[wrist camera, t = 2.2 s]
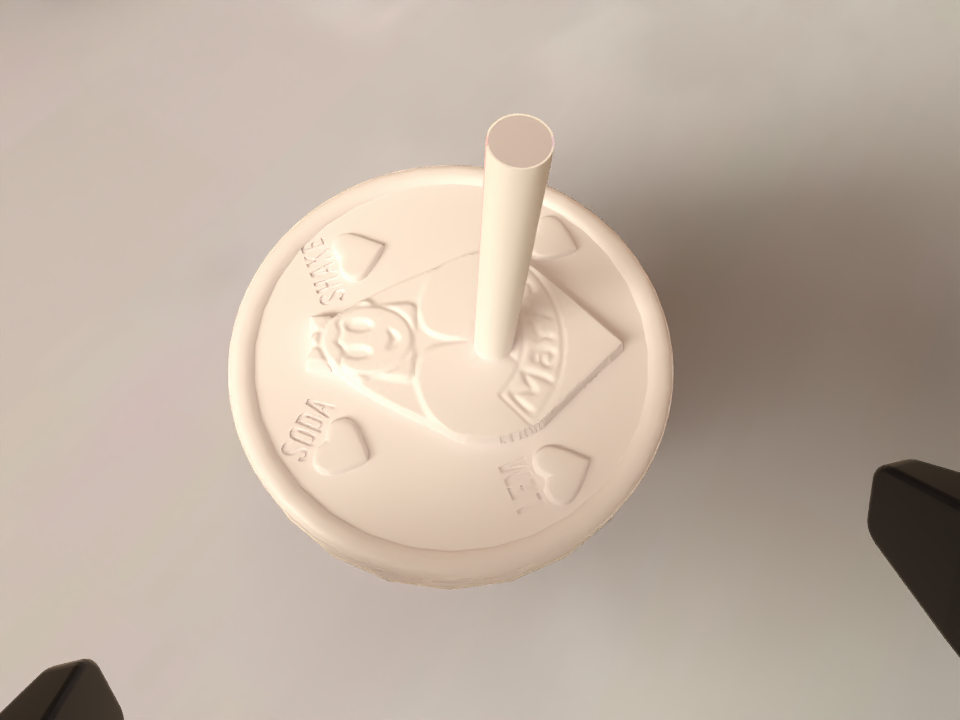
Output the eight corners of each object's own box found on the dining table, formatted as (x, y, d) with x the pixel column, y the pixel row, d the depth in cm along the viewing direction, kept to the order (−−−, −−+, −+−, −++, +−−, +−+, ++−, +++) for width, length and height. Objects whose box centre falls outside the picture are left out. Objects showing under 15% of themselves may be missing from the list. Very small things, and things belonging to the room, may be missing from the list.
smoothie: (576, 603, 17) (942, 556, 4) (327, 603, 17) (-84, 554, 4) (564, 371, 20) (779, -118, 7) (345, 368, 19) (121, -139, 6)
